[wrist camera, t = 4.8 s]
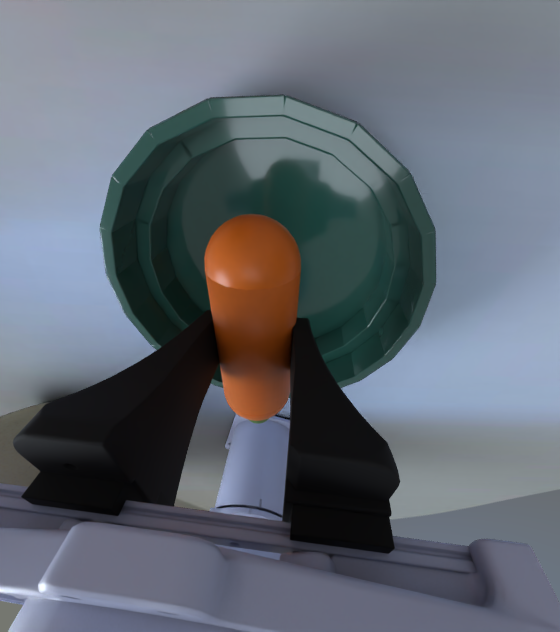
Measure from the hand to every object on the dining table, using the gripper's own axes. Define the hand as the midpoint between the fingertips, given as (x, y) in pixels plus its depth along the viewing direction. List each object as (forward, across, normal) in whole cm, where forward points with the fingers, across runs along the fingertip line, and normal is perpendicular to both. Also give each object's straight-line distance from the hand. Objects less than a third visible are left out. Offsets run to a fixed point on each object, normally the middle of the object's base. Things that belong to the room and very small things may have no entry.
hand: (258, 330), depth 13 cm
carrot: (+1, 0, 0) cm, 1 cm away
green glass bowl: (+7, 0, 0) cm, 7 cm away
